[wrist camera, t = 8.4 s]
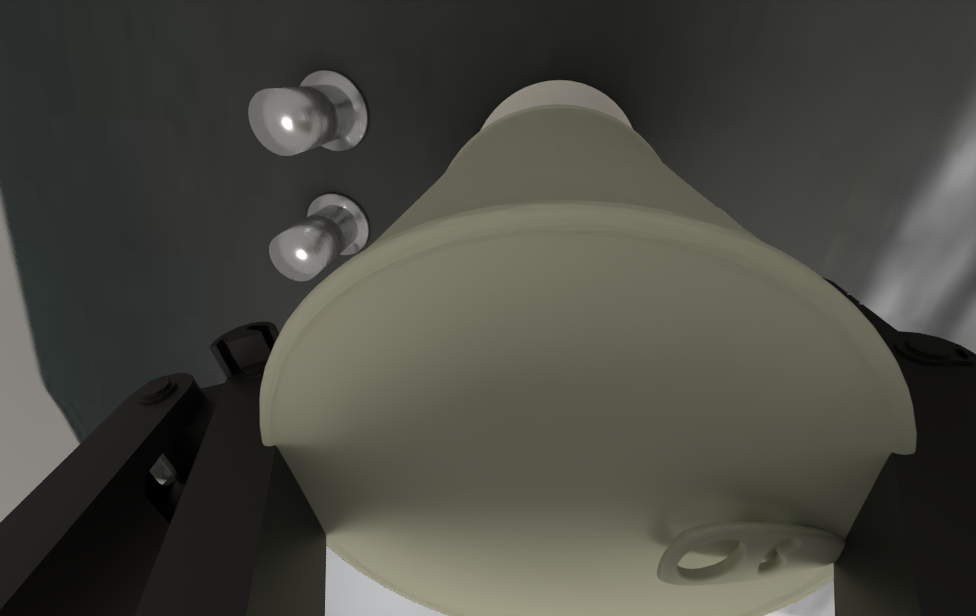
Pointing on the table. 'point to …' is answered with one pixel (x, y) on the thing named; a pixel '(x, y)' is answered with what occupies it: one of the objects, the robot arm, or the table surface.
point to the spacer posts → (302, 126)
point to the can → (582, 392)
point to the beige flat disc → (558, 99)
